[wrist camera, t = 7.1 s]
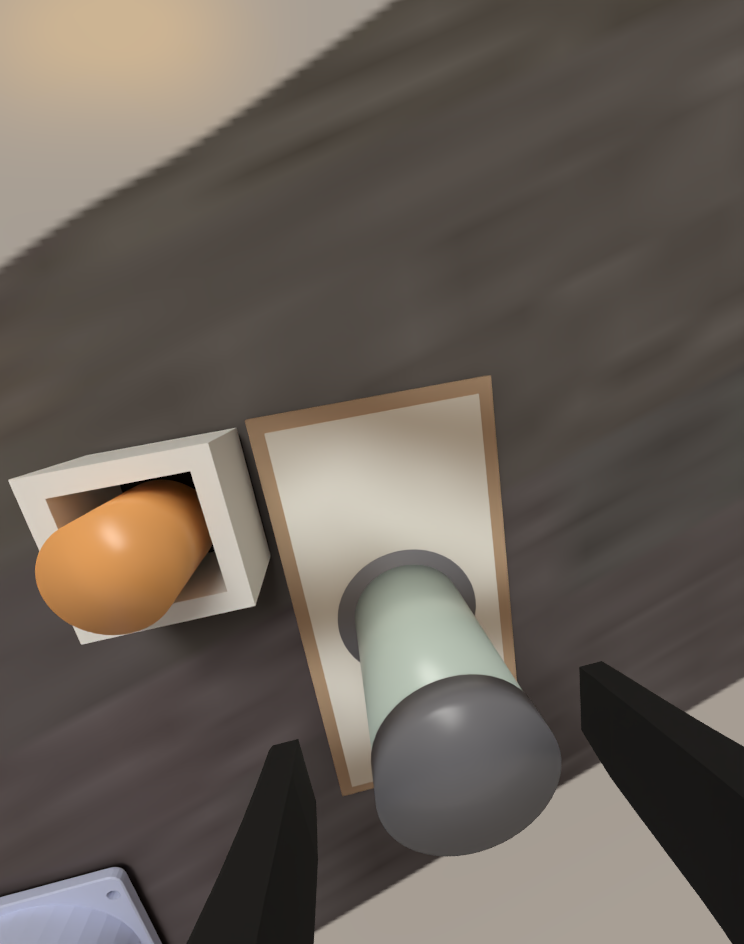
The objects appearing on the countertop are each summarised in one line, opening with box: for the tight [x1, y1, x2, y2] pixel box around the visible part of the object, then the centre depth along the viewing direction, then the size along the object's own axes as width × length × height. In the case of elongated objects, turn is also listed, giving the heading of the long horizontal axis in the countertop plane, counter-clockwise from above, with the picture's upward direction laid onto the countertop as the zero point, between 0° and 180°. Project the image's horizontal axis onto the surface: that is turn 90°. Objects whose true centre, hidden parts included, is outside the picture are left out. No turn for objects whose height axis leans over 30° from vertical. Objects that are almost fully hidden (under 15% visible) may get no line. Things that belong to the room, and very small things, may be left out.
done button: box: [35, 480, 213, 635], centre depth 9 cm, size 3×3×3 cm
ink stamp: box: [355, 565, 561, 856], centre depth 11 cm, size 4×4×6 cm
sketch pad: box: [245, 376, 517, 796], centre depth 14 cm, size 16×8×1 cm, turn 10°
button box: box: [8, 428, 271, 644], centre depth 11 cm, size 5×5×3 cm
